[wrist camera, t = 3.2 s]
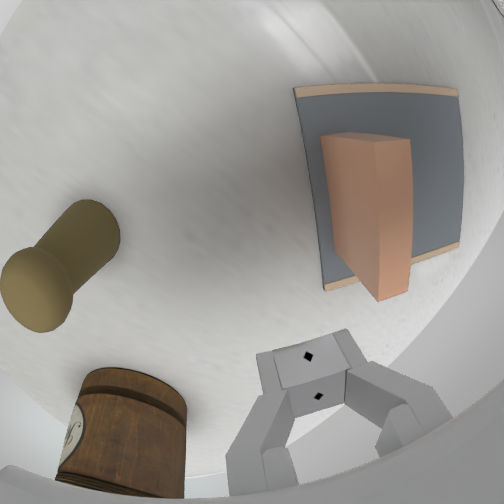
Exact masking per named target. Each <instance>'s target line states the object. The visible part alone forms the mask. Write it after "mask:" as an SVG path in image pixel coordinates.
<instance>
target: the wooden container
mask: <svg viewBox="0 0 504 504" xmlns="http://www.w3.org/2000/svg"><path fill="white" fill-rule="evenodd" d="M186 421H187V408H186V404H185V402H184V400H183V399H182V398H181V396H180V395H179V394H178V393H177V392H176V391H174V390H173V389H172V388H171V387H169V386H168V385H166V384H165V383H163V382H161V381H159V380H157V379H155V378H153V377H150V376H148V375H145V374H142V373H138V372H134V371H130V370H124V369H117V368H106V369H99V370H96V371H93V372H91V373H90V374H88V375H87V376H86V378H85V380H84V382H83V385H82V387H81V390H80V393H79V396H78V399H77V401H76V404H75V406H74V409H73V412H72V415H71V419H70V422H69V426H68V429H67V433H66V438H65V442H64V446H63V450H62V454H61V458H60V463H59V467H58V474H57V475H56V477H55V481H59V482H62V483H66V484H70V485H74V486H78V487H82V488H87V489H91V490H96V491H102V492H107V493H114V494H120V495H128V496H137V497H149V498H168V499H184V479H185V460H186Z"/></svg>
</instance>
